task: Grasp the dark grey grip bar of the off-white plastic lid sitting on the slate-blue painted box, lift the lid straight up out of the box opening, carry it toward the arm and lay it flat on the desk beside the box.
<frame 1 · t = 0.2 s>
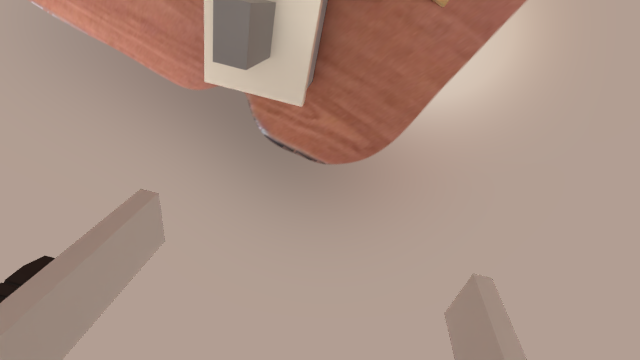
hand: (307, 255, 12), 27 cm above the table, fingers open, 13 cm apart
box: (282, 22, 33), on the table
lid: (262, 26, 27), point 7 cm above the table, touching box
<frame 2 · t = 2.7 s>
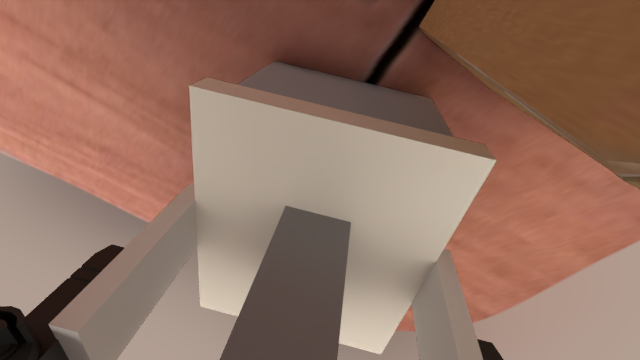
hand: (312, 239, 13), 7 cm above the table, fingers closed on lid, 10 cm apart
box: (331, 163, 19), on the table
lid: (313, 234, 14), point 7 cm above the table, touching box, gripper
sandwich container: (604, 27, 14), on the table
when the fingers open (2 cm above the table, at t = 10.9 s): lid drops 1 cm, point 1 cm above the table.
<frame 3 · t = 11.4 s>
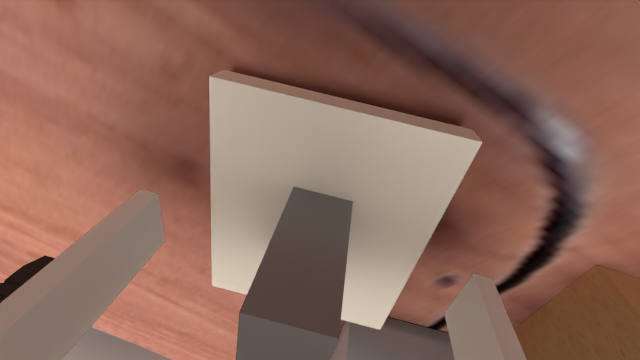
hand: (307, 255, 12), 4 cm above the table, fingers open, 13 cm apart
lid: (318, 215, 15), point 1 cm above the table
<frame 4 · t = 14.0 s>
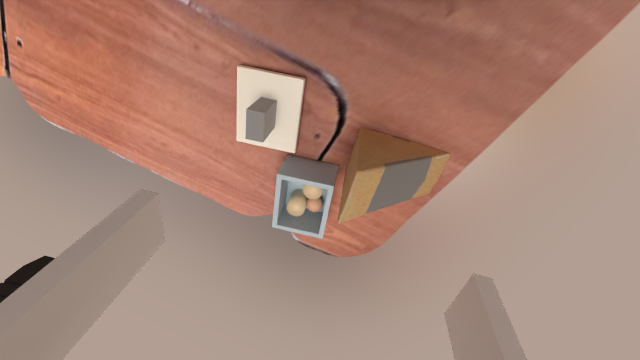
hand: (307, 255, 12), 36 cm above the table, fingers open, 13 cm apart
box: (308, 185, 54), on the table
lid: (270, 110, 47), point 1 cm above the table
sandwich container: (396, 161, 49), on the table
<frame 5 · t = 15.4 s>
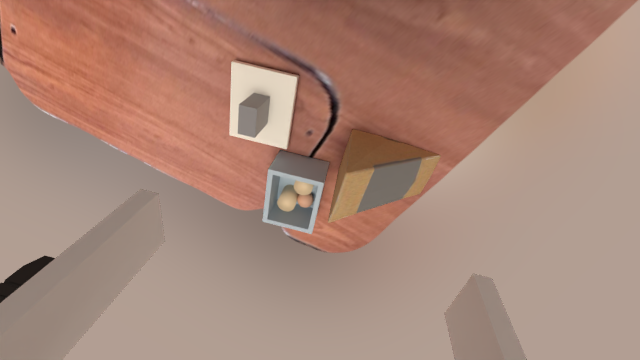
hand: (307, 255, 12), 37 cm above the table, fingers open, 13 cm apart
box: (300, 181, 55), on the table
lid: (263, 106, 47), point 1 cm above the table
sandwich container: (388, 162, 50), on the table
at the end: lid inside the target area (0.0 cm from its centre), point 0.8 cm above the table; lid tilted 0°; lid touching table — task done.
